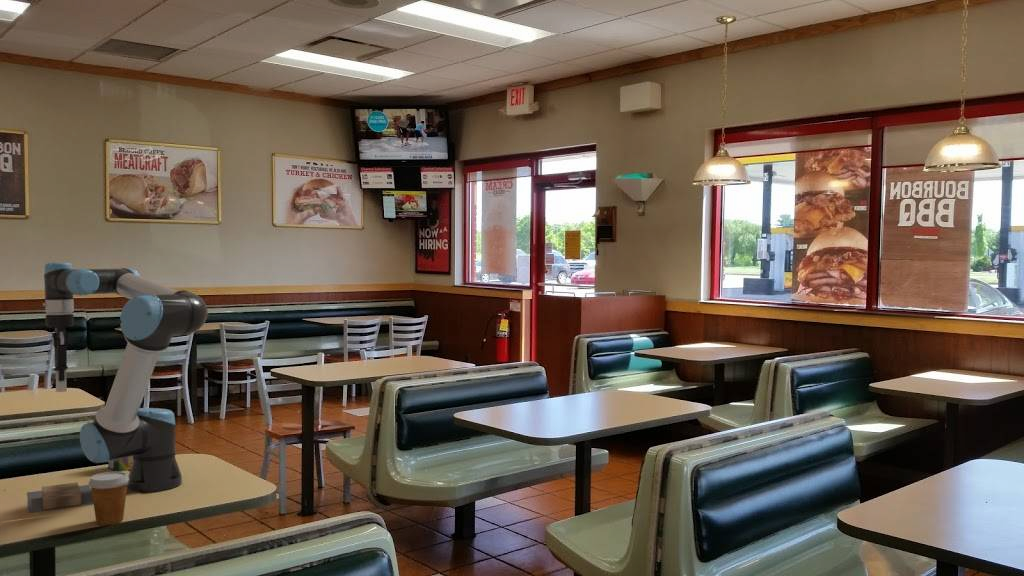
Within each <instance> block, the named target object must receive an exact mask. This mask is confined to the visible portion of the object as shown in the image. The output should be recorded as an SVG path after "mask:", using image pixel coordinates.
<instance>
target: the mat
mask: <svg viewBox="0 0 1024 576" xmlns="http://www.w3.org/2000/svg"><path fill="white" fill-rule="evenodd" d="M78 486H79V489H80V493H81V505H75V506H67V507H60V508H53V509H45V510H44V508H43V501H42V490H36V491H28V492H27V493H26V494H27V510H28V514H34V513H41V512H47V511H55V510H63V509H70V508H77V507H84V506H91V505H93V506H94V504H93V498H92V491H91V487H90V485H89V484H84V485H78Z"/></svg>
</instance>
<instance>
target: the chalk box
mask: <svg viewBox="0 0 1024 576" xmlns="http://www.w3.org/2000/svg"><path fill="white" fill-rule="evenodd" d="M107 463H108V464H107V466H108V467H107V468H108V469H111V470H113V472H126V471H129V472H130V470H131V467H132V464H133V456H129V457H125V458H121V459H116V460H112V461H109V462H107Z"/></svg>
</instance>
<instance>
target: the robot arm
mask: <svg viewBox="0 0 1024 576" xmlns="http://www.w3.org/2000/svg"><path fill="white" fill-rule="evenodd" d="M43 278H44V279H43V280H44V282H43V283H44V300H45V302H43V303H42V306H43V307H45V313H46V315H45V326H46V328H54V332H52V333H51V335H52V336H51V337H52V340H53V344H52V345H53V347H54V349H53V350H54V368H53V371H55V391H56V393H62V392H63V393H64V392H67V391H68V390H67V387H68V386H67V369H69V366H68V364H67V363H68V362H67V361H68V360H67V359H68V354H67V352H68V351H67V348H68V338H69V333H68V332H67V331H66V328H69V327H74V324H75V316H74V314H73V312H74V311H75V303H74V301H75V300H74V295H76V296H89V295H99V294H100V295H102V294H104V295H106V294H116V295H118V296H120V297H124V298H126V299H129V300H128V301H126V303H125V304H124V306H123V307H122V310H121V314H120V315H119V317H120V318H119V319H120V321H121V322H120V325H119V326H120V329H121V333H122V334H123V336H124V339H125V341H126V342H127V344H126V346H125V349H124V352H123V355H122V357H121V359H120V360H121V361H120V363H119V366H118V369H117V372H116V375H115V378H114V380H113V383H112V386H111V389H110V392H109V394H108V397H107V400H106V402H105V404H104V406H103V407H101V408H99V409H98V411H97V412H96V413H95V416H94V419H93V421H91V422H90V421H89V422H86V423H84V424H83V425H82V426H81V428H80V431H79V442H80V446H81V450H82V451H83V454H84V456H85V457H86V458H87V459H88V460H89V461H91V463H95V464H99V463H108V462H109V461H112V460H116V459H121V458H125V457H129V456H133V464H132V467H131V470H129V474H128V477H129V481H128V483H127V490H130V491H135V492H140V493H148V492H149V493H150V492H161V491H165V490H166V489H167V490H170V488H171V489H174V488H177V487H179V486H181V485H182V483H183V480H182V479H183V476H182V473H181V469H180V467H179V465H178V461H177V459H176V427H175V426H176V418H175V412H173V411H172V410H171V409H167V408H156V407H141V405H142V403H143V399H144V396H145V393H146V391H147V388H148V385H149V382H150V380H151V378H152V374H153V372H154V370H155V367H156V364H157V362H158V358H159V356H160V353H161V352H163V351H166V350H167V349H168V348H169V345H170V343H171V341H172V338H174V337H179V336H189V335H191V334H194V333H197V332H198V331H199V330H200V329H201V328H202V327H203V326H204V325H205V323H206V320H207V319H208V306H207V304H206V302H205V300H204V299H203V298H202V297H201V296H199V295H198V294H196V293H193V292H191V291H189V290H184V289H181V290H175V289H174V288H173V289H172V288H170V287H168V286H165V285H163V284H161V283H157V282H155V281H153V280H149V279H147V278H145V277H142V276H141V275H140V273H138V271H137V270H136V269H134V268H125V267H123V268H122V267H121V268H82V269H81V268H76V269H74V268H73V264H72V263H71V262H47V263H45V265H44V274H43ZM178 485H179V486H178ZM176 486H177V487H176Z"/></svg>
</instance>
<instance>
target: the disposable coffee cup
mask: <svg viewBox="0 0 1024 576" xmlns="http://www.w3.org/2000/svg"><path fill="white" fill-rule="evenodd" d="M128 476H129V474H128V473H127V472H126V471H121V472H118V471H105V472H101V473H100V472H99V473H96V474H94V475H92V476H91V477H90V480H89V482H88V485H89V486H90V489H91V492H92V498H93V509H94V515H95V516H94V517H95V521H96V525H99V526H111V525H115V524H116V525H117V524H119V523H121V522H123V521H124V514H125V507H126V497H127V490H128V488H127V483H128V481H129V477H128ZM122 520H123V521H122Z"/></svg>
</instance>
